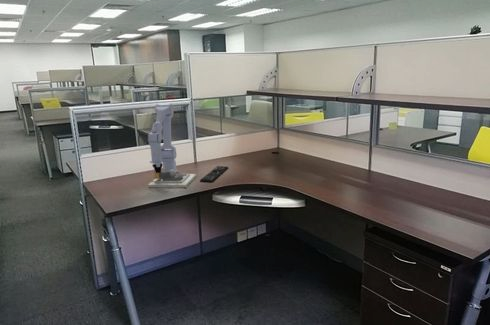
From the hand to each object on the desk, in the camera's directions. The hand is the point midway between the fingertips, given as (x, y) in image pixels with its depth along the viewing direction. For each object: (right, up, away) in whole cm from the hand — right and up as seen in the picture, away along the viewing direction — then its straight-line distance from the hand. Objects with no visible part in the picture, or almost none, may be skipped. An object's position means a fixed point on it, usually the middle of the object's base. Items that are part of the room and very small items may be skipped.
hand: (158, 176), depth 209 cm
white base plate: (+8, -3, +2) cm, 9 cm away
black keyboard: (+32, 0, +14) cm, 35 cm away
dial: (+6, -2, +1) cm, 6 cm away
